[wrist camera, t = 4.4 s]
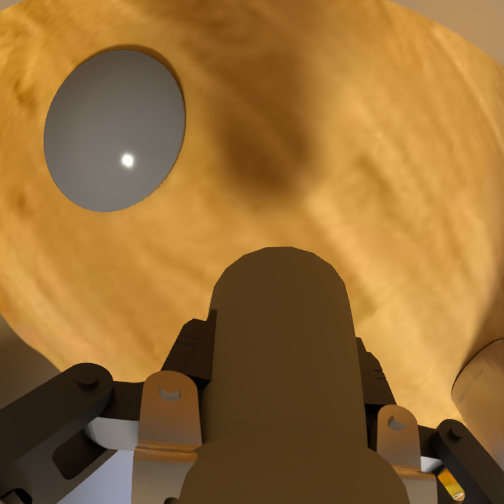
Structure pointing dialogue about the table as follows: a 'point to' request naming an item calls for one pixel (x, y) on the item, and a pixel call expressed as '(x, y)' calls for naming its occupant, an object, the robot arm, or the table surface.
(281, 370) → the olive game pawn
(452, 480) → the element tile
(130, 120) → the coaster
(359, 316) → the table surface
